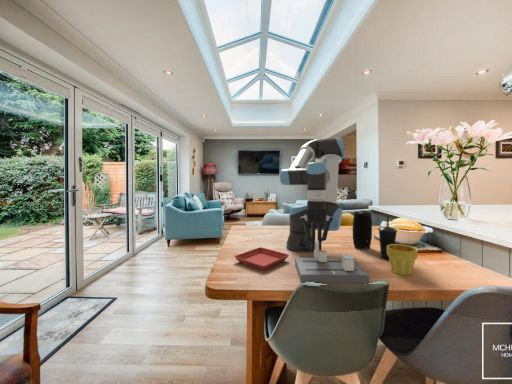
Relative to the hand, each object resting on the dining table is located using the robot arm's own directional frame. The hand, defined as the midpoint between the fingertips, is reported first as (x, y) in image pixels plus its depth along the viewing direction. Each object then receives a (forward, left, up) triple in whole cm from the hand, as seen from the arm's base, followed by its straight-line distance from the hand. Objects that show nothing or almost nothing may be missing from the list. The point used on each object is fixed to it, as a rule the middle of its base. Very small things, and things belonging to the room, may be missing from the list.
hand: (316, 256), depth 97 cm
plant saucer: (-22, -10, -6) cm, 25 cm away
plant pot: (+26, +20, -5) cm, 33 cm away
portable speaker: (+2, +42, -5) cm, 43 cm away
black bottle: (+17, +33, -5) cm, 38 cm away
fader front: (+13, 0, -1) cm, 13 cm away
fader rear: (+2, +2, -1) cm, 3 cm away
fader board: (+6, -1, -5) cm, 8 cm away
